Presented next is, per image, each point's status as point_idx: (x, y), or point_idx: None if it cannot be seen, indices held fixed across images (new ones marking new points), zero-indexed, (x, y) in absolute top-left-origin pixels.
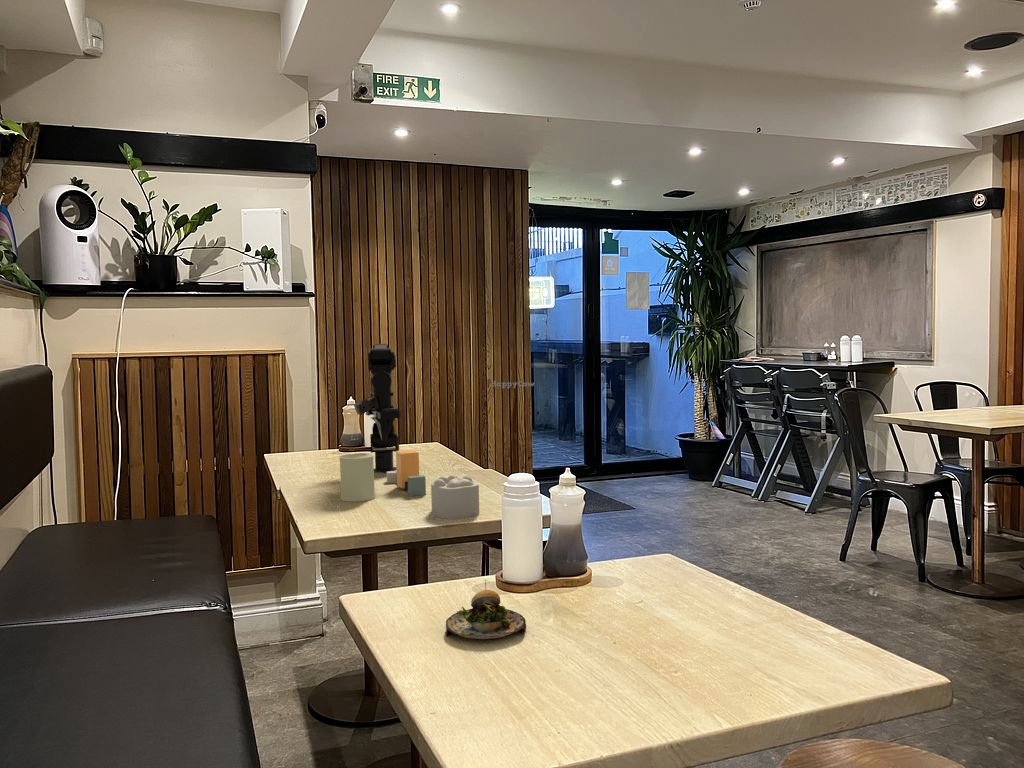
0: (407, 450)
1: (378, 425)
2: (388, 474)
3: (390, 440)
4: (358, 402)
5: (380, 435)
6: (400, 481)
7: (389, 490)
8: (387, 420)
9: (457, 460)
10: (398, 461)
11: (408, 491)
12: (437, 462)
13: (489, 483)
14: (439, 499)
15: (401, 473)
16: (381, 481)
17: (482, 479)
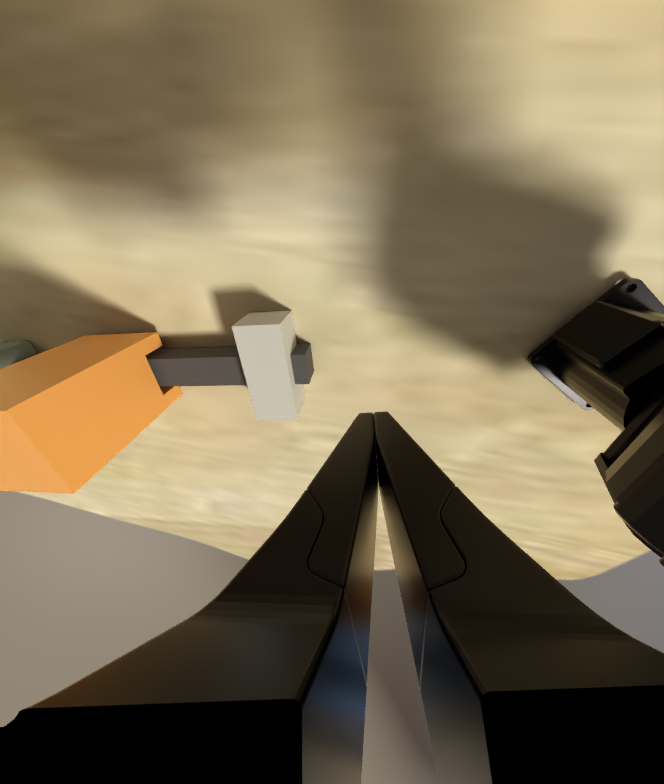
0: (38, 465)
1: (419, 556)
2: (236, 324)
3: (632, 488)
4: None
5: (397, 434)
6: (77, 343)
7: (98, 290)
8: (290, 760)
9: (579, 575)
10: (13, 381)
11: (9, 345)
12: (598, 535)
13: (192, 532)
14: None
15: (25, 360)
16: (304, 288)
17: (245, 536)
